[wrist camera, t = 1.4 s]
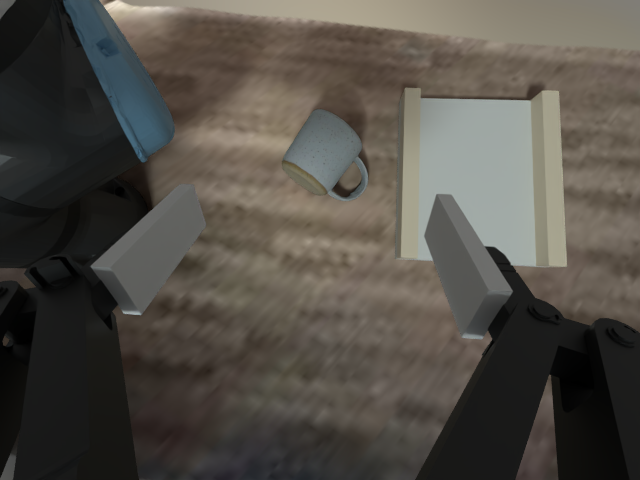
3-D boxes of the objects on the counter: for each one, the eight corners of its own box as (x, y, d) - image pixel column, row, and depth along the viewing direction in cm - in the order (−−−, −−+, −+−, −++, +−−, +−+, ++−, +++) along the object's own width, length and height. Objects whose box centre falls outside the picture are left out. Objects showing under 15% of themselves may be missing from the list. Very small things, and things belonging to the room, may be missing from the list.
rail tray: (394, 258, 36) (400, 257, 32) (399, 103, 38) (404, 87, 35) (545, 267, 34) (566, 266, 31) (539, 106, 37) (558, 90, 34)
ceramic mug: (282, 177, 38) (270, 154, 30) (315, 130, 38) (311, 95, 31) (346, 218, 37) (350, 204, 29) (378, 169, 37) (391, 143, 30)
